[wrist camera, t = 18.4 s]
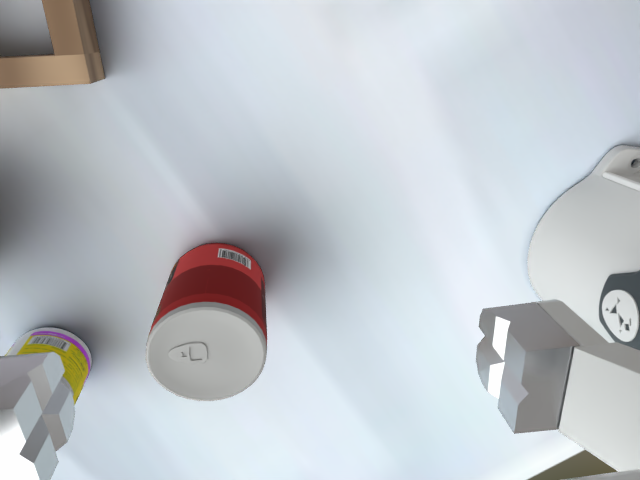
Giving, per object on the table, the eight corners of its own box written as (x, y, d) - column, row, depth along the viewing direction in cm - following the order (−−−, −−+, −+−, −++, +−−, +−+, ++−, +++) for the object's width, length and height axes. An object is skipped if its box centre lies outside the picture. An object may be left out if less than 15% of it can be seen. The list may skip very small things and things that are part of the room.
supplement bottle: (44, 397, 46) (-28, 524, 34) (-3, 343, 43) (-100, 461, 31) (109, 368, 45) (59, 487, 34) (65, 312, 43) (-6, 419, 31)
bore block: (72, -85, 32) (51, -97, 29) (104, 78, 36) (90, 83, 33) (-95, -81, 31) (-135, -93, 28) (-43, 86, 35) (-73, 92, 32)
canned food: (156, 254, 42) (125, 326, 32) (249, 228, 42) (247, 292, 32) (189, 328, 45) (169, 415, 35) (275, 304, 45) (280, 384, 35)
